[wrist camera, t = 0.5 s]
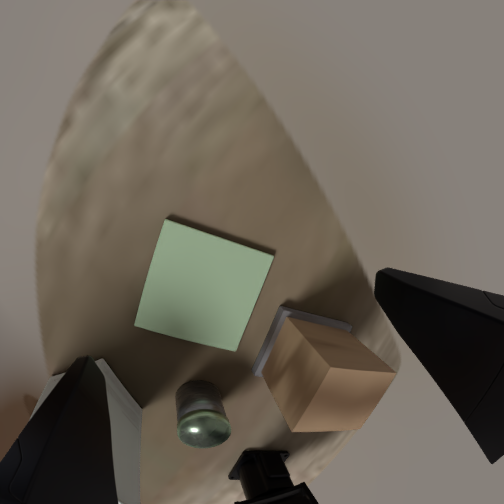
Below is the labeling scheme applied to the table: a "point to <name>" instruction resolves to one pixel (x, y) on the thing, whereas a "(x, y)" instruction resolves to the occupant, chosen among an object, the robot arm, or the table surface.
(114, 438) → the supplement box
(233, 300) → the sage mat
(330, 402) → the tan box
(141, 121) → the table surface
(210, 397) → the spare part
